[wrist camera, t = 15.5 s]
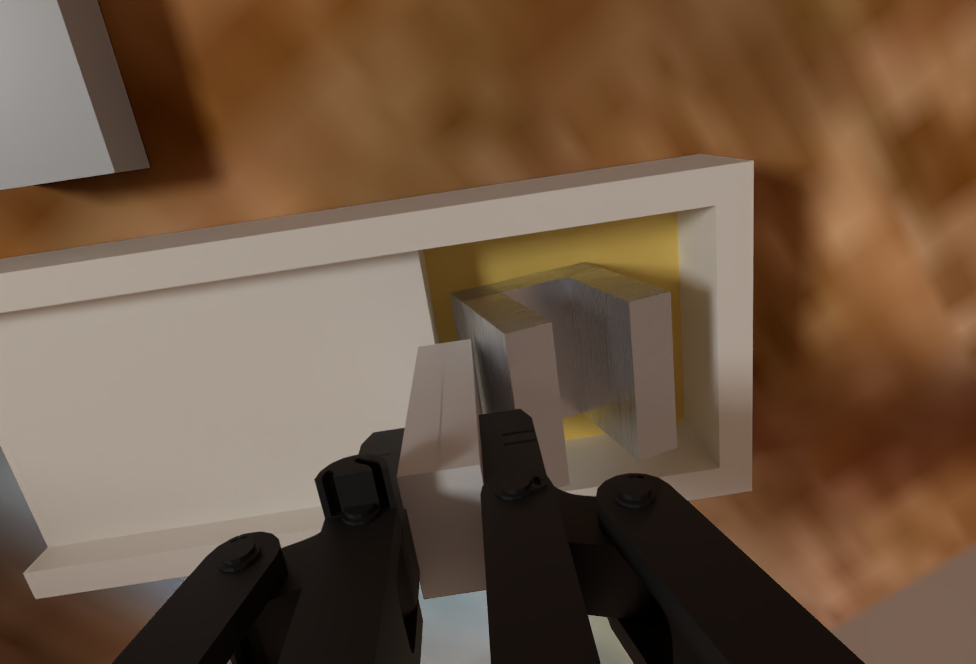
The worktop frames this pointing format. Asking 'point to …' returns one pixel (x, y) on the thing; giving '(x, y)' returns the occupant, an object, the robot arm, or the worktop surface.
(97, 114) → the grey tall rectangular block
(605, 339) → the clip
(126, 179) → the worktop surface
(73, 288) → the box with sliding lid
